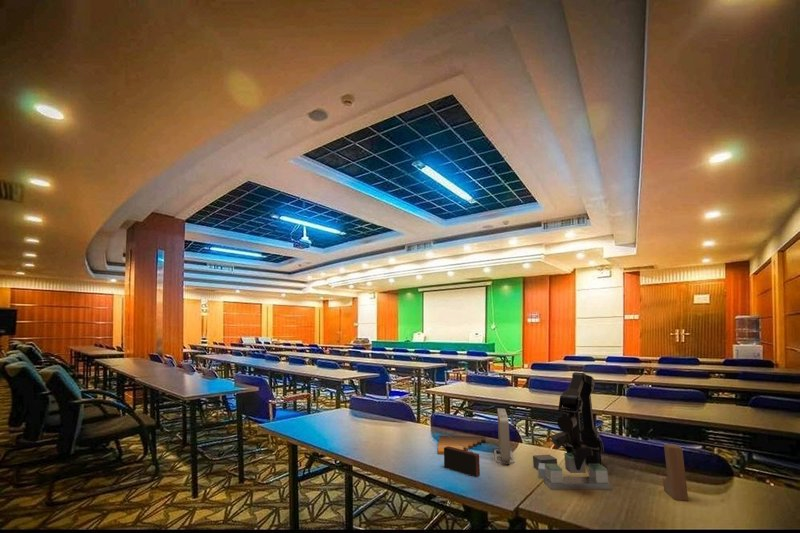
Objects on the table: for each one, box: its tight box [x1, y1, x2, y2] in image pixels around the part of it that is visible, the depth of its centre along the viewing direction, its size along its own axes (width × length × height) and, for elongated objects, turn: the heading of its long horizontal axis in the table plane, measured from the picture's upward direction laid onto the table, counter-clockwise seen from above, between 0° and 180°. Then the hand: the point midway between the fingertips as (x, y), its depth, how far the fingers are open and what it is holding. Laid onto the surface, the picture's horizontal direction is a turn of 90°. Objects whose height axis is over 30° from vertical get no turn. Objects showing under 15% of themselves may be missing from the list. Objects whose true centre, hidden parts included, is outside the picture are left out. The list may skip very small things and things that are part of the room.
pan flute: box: [437, 434, 486, 455], centre depth 197 cm, size 25×3×25 cm
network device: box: [493, 408, 516, 465], centre depth 184 cm, size 26×9×20 cm, turn 168°
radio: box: [440, 430, 481, 478], centre depth 166 cm, size 19×3×15 cm, turn 47°
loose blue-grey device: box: [537, 463, 545, 480], centre depth 159 cm, size 5×7×4 cm
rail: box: [543, 463, 612, 490], centre depth 150 cm, size 23×7×7 cm, turn 90°
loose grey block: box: [532, 454, 558, 471], centre depth 167 cm, size 8×6×5 cm
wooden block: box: [662, 443, 689, 502], centre depth 142 cm, size 9×4×18 cm, turn 167°
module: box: [563, 452, 587, 474], centre depth 151 cm, size 6×4×6 cm
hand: (575, 467), depth 150 cm, fingers closed on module, 4 cm apart
